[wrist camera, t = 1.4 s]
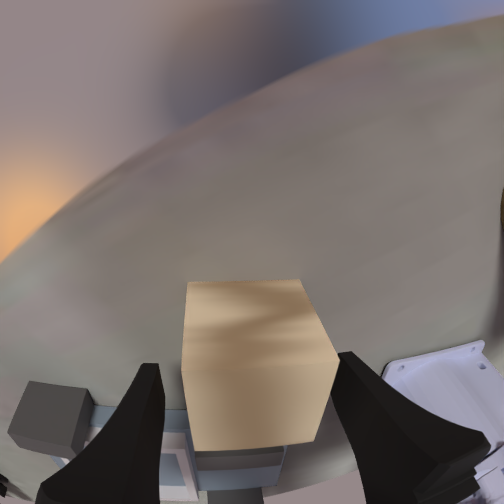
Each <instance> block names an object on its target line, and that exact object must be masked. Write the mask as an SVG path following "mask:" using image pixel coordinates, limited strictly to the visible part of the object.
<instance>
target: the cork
mask: <svg viewBox="0 0 504 504" xmlns="http://www.w3.org/2000/svg"><path fill="white" fill-rule="evenodd" d="M501 222H502V226H503V230H504V189H503V195H502V201H501Z"/></svg>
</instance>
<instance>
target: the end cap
mask: <svg viewBox="0 0 504 504" xmlns="http://www.w3.org/2000/svg"><path fill="white" fill-rule="evenodd" d="M2 483H8V479H7V478H6V477H4V476H3V475H1V474H0V495H1V496H2V497H5V495H6V491H7V488H6V487H5V486H4V485H3V484H2Z"/></svg>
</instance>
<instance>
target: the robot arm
mask: <svg viewBox="0 0 504 504" xmlns="http://www.w3.org/2000/svg"><path fill="white" fill-rule="evenodd" d="M484 346H485V342H484V341H483V340H478V341H475V342H471V343H468V344H464V345H460V346H456V347H453V348H449V349H445V350H441V351H436V352H432V353H428V354H423V355H419V356H414V357H410V358H405V359H400V360H395V361H392V362H390V363H389V364H388V365H387V366H386V368H385V371H384V373H383V375H382V378H381V377H380V376H379V375H377V374H376V373H375V372H374V371H373V370H372V369H371V368H370V367H368V366H367V365H366V364H365V363H364V362H363V361H362V360H361V359H360V358H358V357H357V356H356V355H355V354H354V353H353V352H352V351H350V352H343V353H338V358H339V360H340V362H339V365H338V368H337V372H336V375H335V378H334V382H333V385H332V388H331V391H330V393H331V397H332V400H333V404H334V407H335V409H336V412H337V414H338V416H339V419H340V421H341V423H342V426H343V428H344V430H345V433H346V435H347V437H348V439H349V442H350V444H351V446H352V449H353V452H354V455H355V458H356V461H357V465H358V468H359V472H360V476H361V480H362V484H363V489H364V493H365V498H366V504H504V378H503V377H502V375H501V374H500V373H499V372H498V371H497V370H496V368H495V367H494V366H493V365H492V364H491V363H490V362H489V360H488V359H487V358H486V357H485V356H484V355H483V354H482V353H481V352H482V350H483V348H484ZM164 423H165V393H164V389H163V384H162V379H161V374H160V369H159V364H158V363H143V364H142V365H141V366H140V368H139V370H138V372H137V374H136V376H135V378H134V380H133V382H132V384H131V385H130V387H129V389H128V391H127V392H126V394H125V396H124V397H123V399H122V401H121V402H120V404H119V405H118V407H117V408H116V410H115V411H114V413H113V414H112V415H111V417H110V418H109V420H108V421H107V422H106V424H105V425H104V426H103V428H102V429H101V430H100V431H99V433H98V434H97V435H96V436H95V437H94V438H93V439H92V441H91V442H90V443H89V444H88V445H87V446H86V447H85V448H84V449H83V450H82V451H81V452H80V453H79V454H78V455H77V456H76V457H75V458H73V459H72V460H71V461H70V462H69V463H68V464H66V465H65V466H64V467H63V468H62V469H60V470H59V471H58V472H56V473H55V474H54V475H52V476H51V477H49V478H48V479H46V480H45V481H43V482H42V483H41V485H40V488H39V490H38V493H37V497H36V502H35V504H160V491H159V467H160V457H161V448H162V440H163V431H164Z"/></svg>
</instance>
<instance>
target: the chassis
mask: <svg viewBox="0 0 504 504" xmlns="http://www.w3.org/2000/svg"><path fill="white" fill-rule="evenodd" d="M116 408H117V407H108V406H98V405H94V404H93V401H92V399H91V397H90V395H89V392H88V390H87V389H84V388H75V387H66V386H59V385H52V384H45V383H38V382H32V381H29V383H28V385H27V387H26V389H25V391H24V393H23V396H22V398H21V400H20V402H19V405H18V407H17V409H16V412H15V414H14V416H13V419H12V421H11V424H10V426H9V429H8V431H7V433H8V434H9V435H10V436H11V438H12V439H13V440H14V441H15V443H16V444H17V445H18V446H19V447H20V448H24V449H27V450H31V451H35V452H39V453H43V454H47V455H50V456H51V458H52V459H53V460H54V461H55V463H56V464H57V465H58V466H59V467H60V468H61V469H62V468H63V467H64V466H65V465H66V464H68V463H69V462H70V461H71V460H72V459H73V458H75V457H76V456H77V455H78V454H79V453H80V452H81V451H82V450H83V449H84V448H85V447H86V446H87V445H88V444H89V443H90V442H91V441H92V439H93V438H94V437H95V436H96V435H97V434H98V433H99V431H100V430H101V429H102V428H103V426H104V425H105V424H106V422H107V421H108V420H109V418H110V417H111V415H112V414H113V413H114V411H115V410H116ZM287 446H288V445H283V446H274V447H265V448H254V449H240V450H221V451H195V450H194V445H193V439H192V434H191V428H190V423H189V417H188V411H187V410H165V423H164V431H163V440H162V448H161V457H160V467H159V491H160V500H168V501H199V497H198V491H207V496H208V504H264V501H263V496H262V490H261V487H268V486H277V482H278V479H279V475H280V472H281V468H282V465H283V461H284V457H285V454H286V450H287Z"/></svg>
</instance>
